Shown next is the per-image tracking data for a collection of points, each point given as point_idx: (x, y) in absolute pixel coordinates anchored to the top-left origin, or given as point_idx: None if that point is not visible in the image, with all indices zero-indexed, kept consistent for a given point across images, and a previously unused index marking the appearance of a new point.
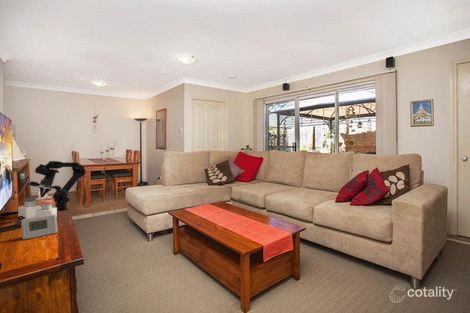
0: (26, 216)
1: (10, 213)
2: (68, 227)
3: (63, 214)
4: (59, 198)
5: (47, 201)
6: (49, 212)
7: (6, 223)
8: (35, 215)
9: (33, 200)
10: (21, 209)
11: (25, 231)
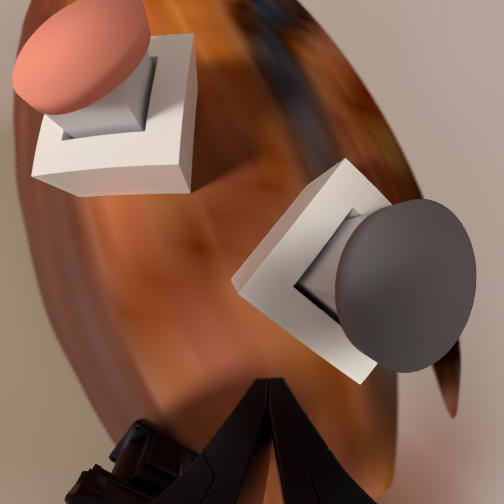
0: (310, 183)
1: None
2: (33, 20)
3: (61, 292)
4: (105, 489)
5: (66, 21)
6: None
7: (357, 84)
8: (195, 61)
9: (351, 238)
10: None
11: None
